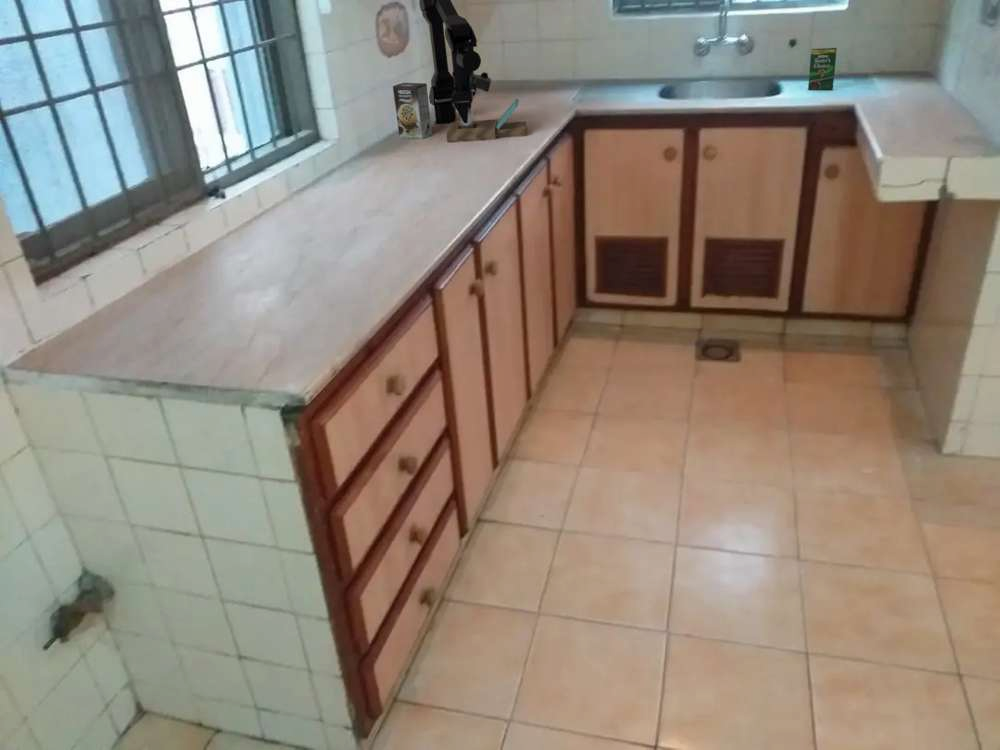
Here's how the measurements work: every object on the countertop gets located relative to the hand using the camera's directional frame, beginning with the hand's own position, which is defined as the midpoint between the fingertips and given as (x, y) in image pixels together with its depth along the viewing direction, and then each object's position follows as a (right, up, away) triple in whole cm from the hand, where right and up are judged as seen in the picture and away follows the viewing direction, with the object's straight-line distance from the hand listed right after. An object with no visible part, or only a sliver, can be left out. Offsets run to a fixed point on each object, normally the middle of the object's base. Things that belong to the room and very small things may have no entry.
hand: (467, 119), depth 255 cm
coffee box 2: (+119, +17, +21) cm, 122 cm away
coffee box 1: (-17, -3, +8) cm, 19 cm away
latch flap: (+13, +1, -2) cm, 13 cm away
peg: (0, -4, +2) cm, 5 cm away
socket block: (+6, -4, +2) cm, 8 cm away
